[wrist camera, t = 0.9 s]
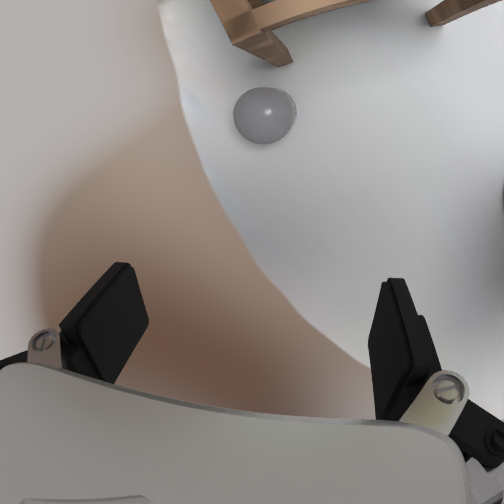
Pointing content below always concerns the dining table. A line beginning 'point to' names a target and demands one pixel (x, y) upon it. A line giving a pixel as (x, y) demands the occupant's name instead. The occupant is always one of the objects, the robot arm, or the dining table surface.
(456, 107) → the dining table surface
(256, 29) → the frame
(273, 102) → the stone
